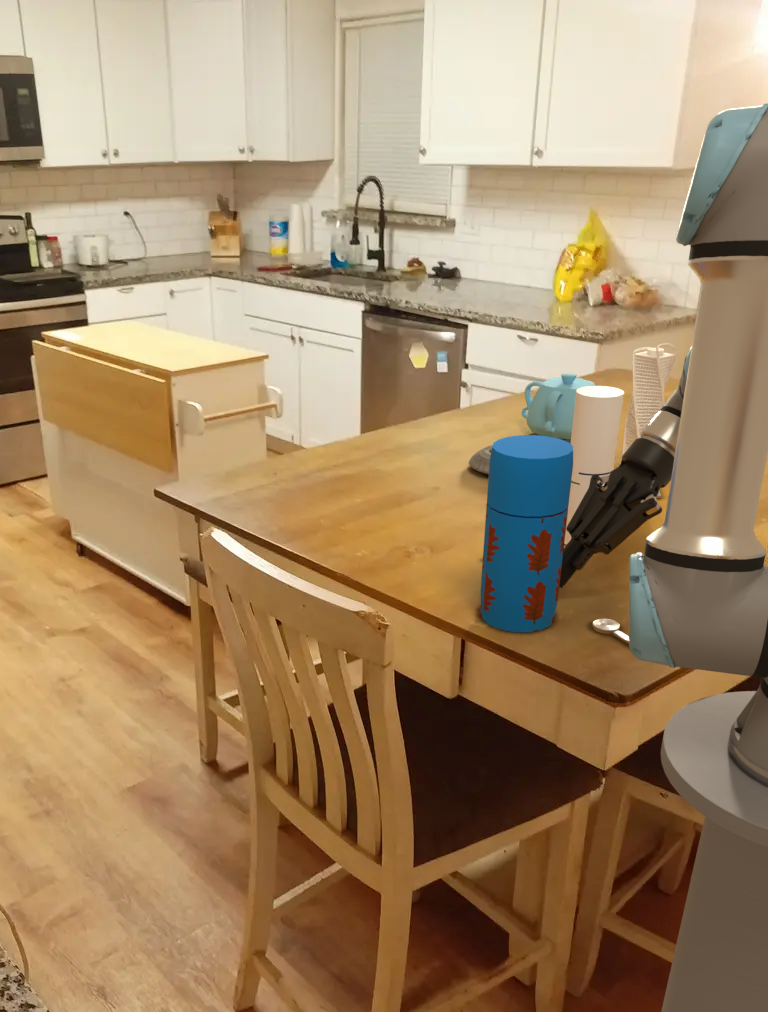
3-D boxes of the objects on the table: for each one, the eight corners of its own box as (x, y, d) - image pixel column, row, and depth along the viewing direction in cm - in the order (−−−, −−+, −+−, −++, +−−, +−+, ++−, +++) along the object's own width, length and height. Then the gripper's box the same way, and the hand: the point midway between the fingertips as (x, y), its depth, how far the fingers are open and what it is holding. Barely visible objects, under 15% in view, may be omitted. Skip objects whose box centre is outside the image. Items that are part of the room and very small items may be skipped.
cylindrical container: (596, 551, 156) (617, 399, 144) (554, 543, 159) (570, 394, 147) (609, 536, 161) (629, 388, 149) (567, 529, 164) (584, 384, 152)
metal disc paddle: (658, 650, 126) (659, 646, 126) (638, 656, 125) (638, 652, 125) (606, 620, 135) (607, 616, 134) (586, 625, 133) (587, 621, 133)
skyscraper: (662, 500, 175) (687, 344, 161) (616, 499, 176) (637, 344, 163) (656, 485, 182) (679, 335, 168) (611, 484, 183) (631, 334, 170)
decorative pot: (536, 448, 205) (542, 384, 198) (516, 426, 219) (521, 367, 212) (610, 444, 205) (619, 381, 199) (586, 423, 219) (593, 363, 213)
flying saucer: (524, 487, 183) (526, 459, 181) (455, 474, 192) (456, 447, 189) (555, 465, 194) (558, 439, 191) (489, 454, 202) (490, 429, 199)
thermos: (562, 605, 139) (582, 439, 127) (547, 638, 130) (567, 462, 118) (489, 594, 143) (501, 431, 131) (470, 625, 135) (481, 454, 123)
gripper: (705, 479, 132) (596, 612, 135) (638, 454, 143) (538, 577, 145) (683, 449, 128) (570, 586, 130) (615, 425, 138) (512, 552, 141)
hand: (553, 581), depth 138 cm, fingers closed
